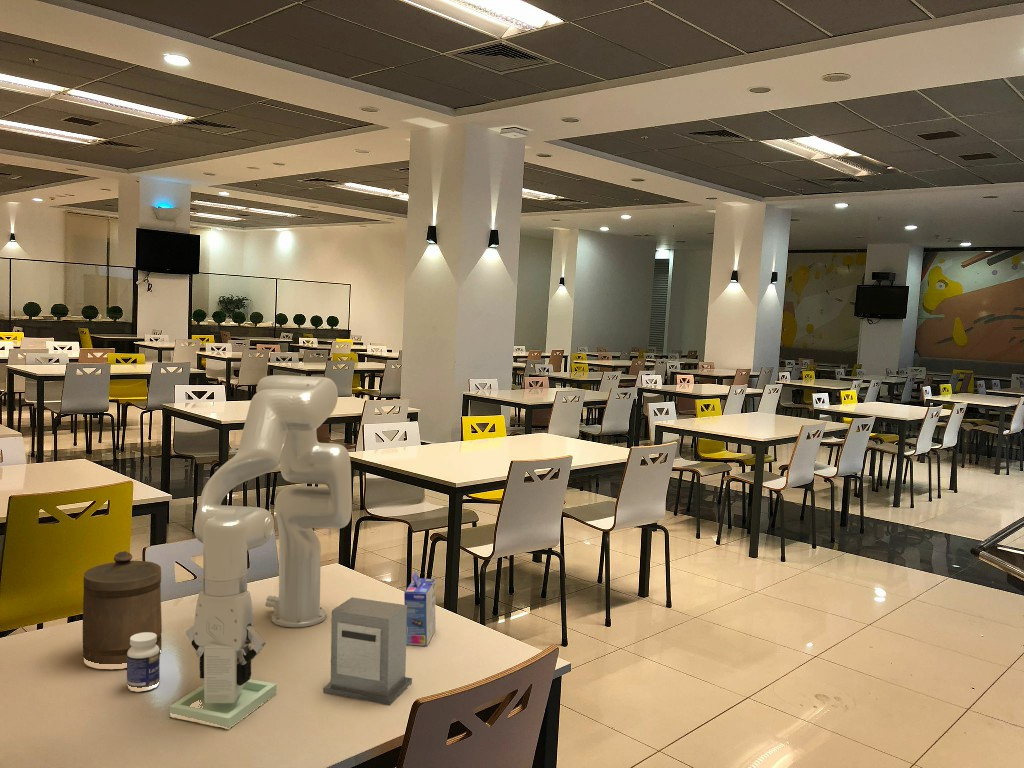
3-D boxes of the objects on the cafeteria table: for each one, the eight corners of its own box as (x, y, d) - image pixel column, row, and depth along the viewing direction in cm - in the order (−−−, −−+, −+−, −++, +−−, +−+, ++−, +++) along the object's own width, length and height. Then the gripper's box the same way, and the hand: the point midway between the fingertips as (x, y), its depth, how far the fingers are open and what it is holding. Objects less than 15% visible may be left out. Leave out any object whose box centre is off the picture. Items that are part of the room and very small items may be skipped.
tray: (169, 717, 146) (169, 706, 146) (220, 684, 160) (220, 673, 160) (229, 730, 143) (229, 718, 143) (276, 694, 156) (276, 683, 156)
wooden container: (167, 640, 180) (167, 541, 179) (153, 668, 166) (153, 561, 164) (94, 643, 177) (93, 543, 175) (73, 673, 163) (71, 564, 161)
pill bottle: (155, 692, 156) (155, 641, 155) (123, 694, 155) (122, 642, 154) (163, 679, 161) (162, 630, 160) (131, 680, 160) (131, 631, 160)
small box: (215, 684, 155) (215, 629, 154) (246, 683, 156) (246, 629, 155) (203, 704, 147) (202, 647, 146) (235, 704, 148) (235, 647, 147)
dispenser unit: (323, 692, 158) (324, 611, 156) (348, 672, 167) (349, 595, 166) (389, 705, 154) (391, 621, 152) (411, 683, 163) (413, 604, 162)
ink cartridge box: (412, 628, 192) (413, 567, 190) (435, 630, 191) (437, 568, 190) (402, 645, 182) (403, 581, 181) (427, 646, 181) (428, 582, 180)
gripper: (171, 584, 149) (171, 679, 150) (254, 597, 144) (253, 695, 145) (198, 572, 156) (198, 663, 157) (278, 584, 151) (278, 678, 152)
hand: (225, 678), depth 151 cm, fingers closed on small box, 7 cm apart
